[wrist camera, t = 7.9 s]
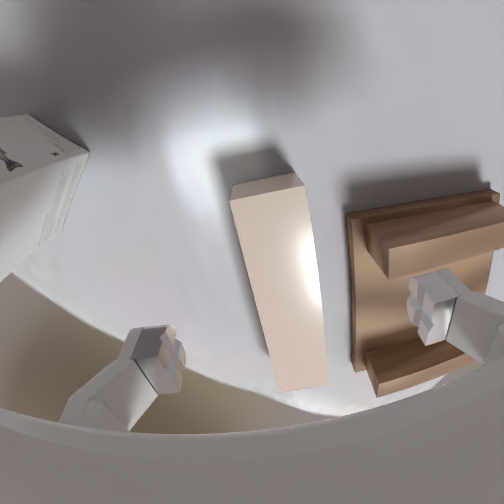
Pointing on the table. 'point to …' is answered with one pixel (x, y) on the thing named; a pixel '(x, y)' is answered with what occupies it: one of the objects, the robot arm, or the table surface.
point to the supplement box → (33, 186)
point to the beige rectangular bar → (283, 276)
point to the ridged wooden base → (406, 267)
